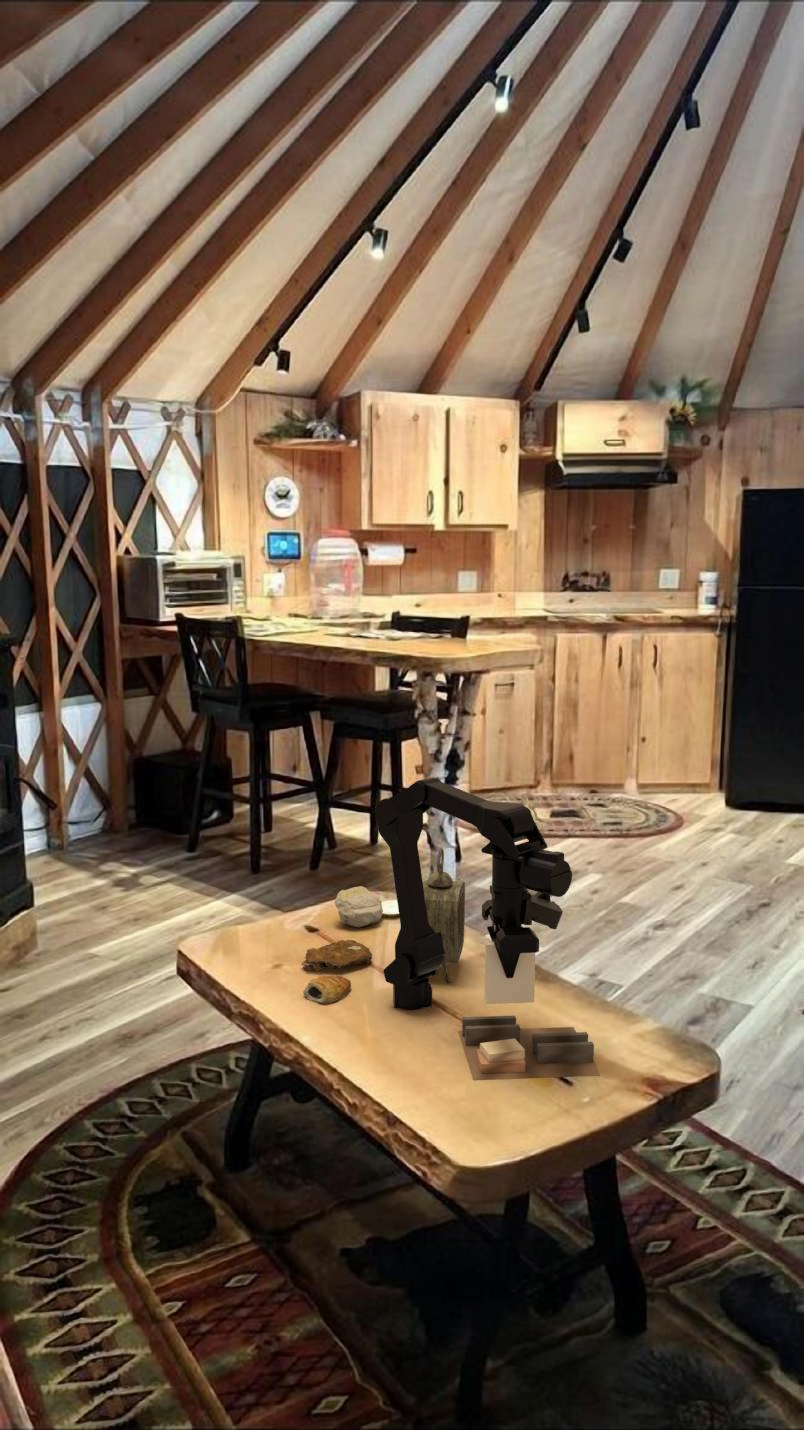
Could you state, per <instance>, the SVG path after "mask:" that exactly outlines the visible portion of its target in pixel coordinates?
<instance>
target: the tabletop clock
mask: <svg viewBox="0 0 804 1430" xmlns="http://www.w3.org/2000/svg"><path fill="white" fill-rule="evenodd" d="M437 853H438V854H437V857H436V858H437V859H436V868H437V869H436V871H435V872H433V873H431V874H430V875H429V876H428V878H427V880H424V881H423V889H424V896H425V903H426V910H427V917H428V923H429V925H430V926H431V927H432V928H433V930H434V931H435V932H441V934H442V939H443V948H444V950H445V954H444V955H443V963H442V964H441V965H440V967H441V969H442V971H443V973H444V976H443V981H444V982H445V984H450V983H451V982H452V981H453V978H452V977H453V976H452V975H450V974H449V972H448V970H447V965H446V964H458V963H459V961H460V959H461V956H462V951H463V948H464V943H465V923H466V922H465V921H466V919H465V915H466V910H465V909H466V884H465V883H466V882H465V881H460V880H459V881H457V880H453V878H452V877H451V874H449V872H446V871H444V861H445V859H444V858H445V851H444V849H443V848H440V849H439V850H438V852H437Z"/></svg>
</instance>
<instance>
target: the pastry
mask: <svg viewBox="0 0 804 1430" xmlns="http://www.w3.org/2000/svg"><path fill="white" fill-rule="evenodd" d="M351 987H352V982H351V980H350V979H348V978H347V977H344V976H343V975H321V976H318V977H316V978H313V979H311V980H310V981H309V982H307V984H306V986H305V988H304V989H303V991H302V992H303V996H304V997H305V998H306V997H307V998H306V999H307V1000H308V999H309V1001H311V1000H313V1001H312V1002H315V1001H317V1002H316V1003H319V1004H323V1003H325V1004H326V1003H329V1004H332V1002H333V1003H335V1002H336V1001H340V1000H341V998H344V997H346V996H347V995H348V994H349V993H350V992H351V990H352V989H351ZM348 992H349V993H348ZM347 993H348V994H347ZM346 994H347V995H346Z"/></svg>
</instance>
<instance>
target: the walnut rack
mask: <svg viewBox="0 0 804 1430" xmlns="http://www.w3.org/2000/svg"><path fill="white" fill-rule="evenodd" d="M461 1020H462V1021H461V1024H462V1025H461V1030H457V1032H458V1035H459V1039H460V1042H461V1045H462V1049H463V1052H464V1055H465V1057H466V1061H467V1065H468V1068H469V1071H470V1074H471V1077H472V1080H473V1081H488V1080H489V1081H491V1080H494V1081H495V1080H517V1079H518V1080H519V1079H523V1080H524V1079H544V1078H545V1079H546V1078H574V1077H600V1076H602V1075H601V1073H600V1071H599V1070H598V1068H597V1066H596V1065H595V1062H594V1056H595V1055H594V1054H595V1053H594V1052H595V1051H594V1050H595V1049H594V1048H595V1045H594V1044H595V1043H594V1042H593V1041H589V1034H588V1032H587V1031H582V1032H581V1031H579V1032H577V1031H576V1029H575V1027H574V1026H566V1027H565V1026H563V1027H562V1026H561V1027H560V1026H559V1027H534V1028H533V1027H532V1028H531V1027H530V1028H529V1027H528V1028H521V1026H520V1024H518V1023H517V1016H516V1015H495V1016H494V1015H493V1016H489V1015H487V1016H463V1017H462V1018H461ZM507 1039H516V1040H517V1042H518V1043H519V1044H520V1045H521V1046H522V1047H523V1048H524V1049H525V1059H524V1061H525V1072H505V1073H481V1072H480V1069H479V1066H478V1063H477V1060H476V1049H480V1043H485V1042H493V1041H500V1040H507Z"/></svg>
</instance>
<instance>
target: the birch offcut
mask: <svg viewBox="0 0 804 1430" xmlns="http://www.w3.org/2000/svg"><path fill="white" fill-rule="evenodd" d="M480 1053H481V1054H482V1055H483V1057H484V1058H485V1059H486V1060H487V1062H488V1063H489V1064H490V1063H497V1062H504V1061H511V1060H518V1059H525V1049H524V1048H523V1047H522V1046H521V1045H520V1044H519V1043H518V1042H517V1040H516V1039H507V1040H500V1041H493V1042H485V1043H480Z"/></svg>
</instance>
